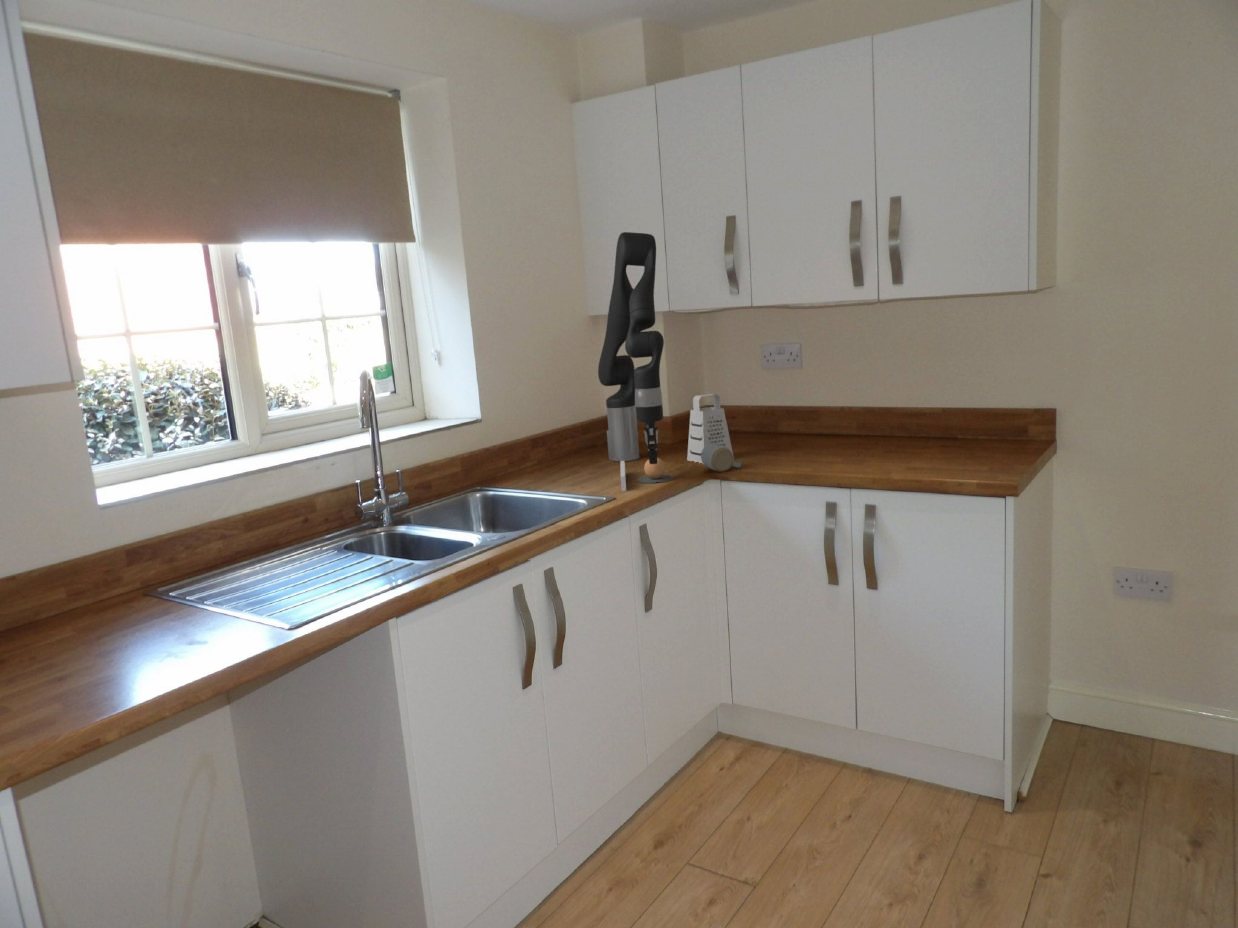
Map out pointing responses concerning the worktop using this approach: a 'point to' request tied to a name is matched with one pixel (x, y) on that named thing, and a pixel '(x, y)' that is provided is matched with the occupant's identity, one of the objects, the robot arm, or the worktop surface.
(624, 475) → the low wall
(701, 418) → the grater
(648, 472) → the ball
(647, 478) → the pad
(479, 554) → the worktop surface
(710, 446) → the ceramic mug
